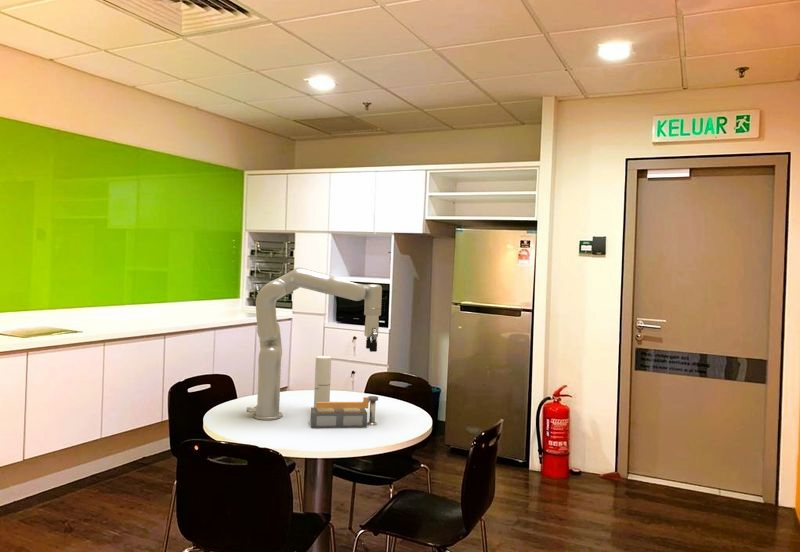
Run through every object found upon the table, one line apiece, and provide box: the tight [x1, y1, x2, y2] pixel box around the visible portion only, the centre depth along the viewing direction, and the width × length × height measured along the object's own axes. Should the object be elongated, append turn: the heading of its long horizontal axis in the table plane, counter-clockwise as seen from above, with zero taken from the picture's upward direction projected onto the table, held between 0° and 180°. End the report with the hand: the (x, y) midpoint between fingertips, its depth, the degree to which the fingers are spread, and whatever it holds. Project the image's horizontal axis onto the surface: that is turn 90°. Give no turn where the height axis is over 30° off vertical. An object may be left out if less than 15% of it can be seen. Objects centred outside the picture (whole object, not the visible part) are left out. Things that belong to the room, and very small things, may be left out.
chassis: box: [310, 406, 368, 429], centre depth 256 cm, size 23×11×6 cm, turn 101°
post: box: [367, 401, 378, 426], centre depth 259 cm, size 4×4×10 cm
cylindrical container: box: [313, 355, 332, 407], centre depth 279 cm, size 7×7×25 cm
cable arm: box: [316, 395, 379, 409], centre depth 257 cm, size 26×4×5 cm, turn 101°
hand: (371, 350), depth 271 cm, fingers open, 9 cm apart
